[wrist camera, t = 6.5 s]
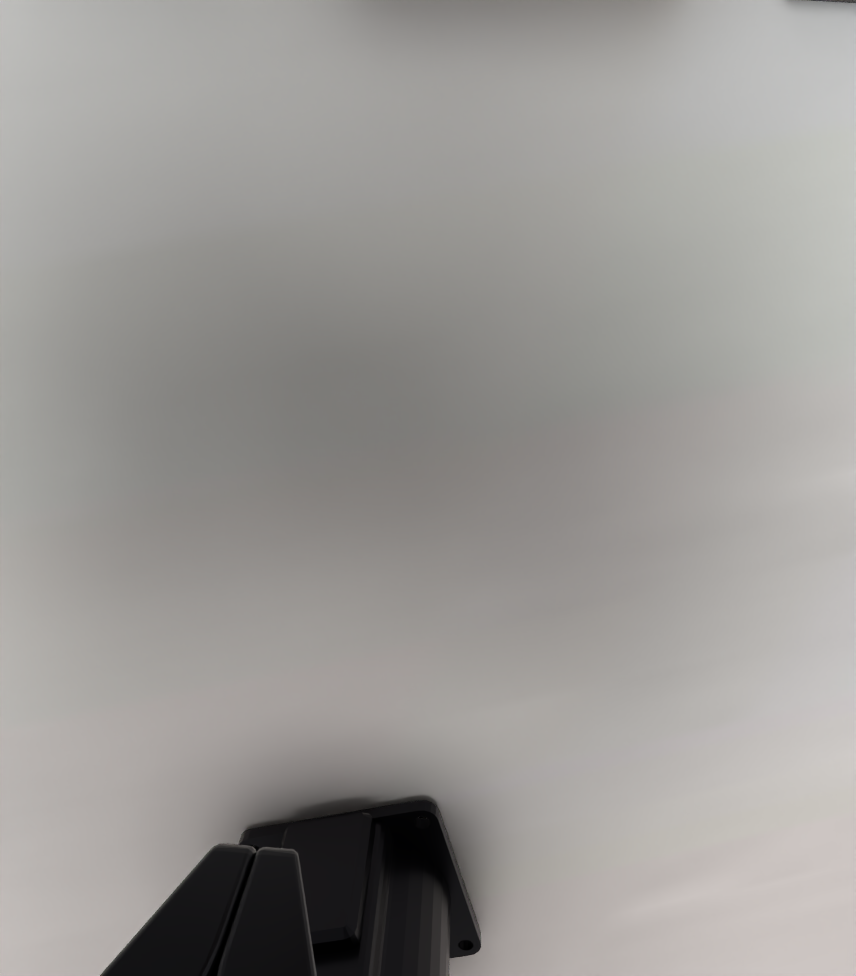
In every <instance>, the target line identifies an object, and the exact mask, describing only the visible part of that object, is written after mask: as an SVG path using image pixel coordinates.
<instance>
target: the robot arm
mask: <svg viewBox="0 0 856 976" xmlns="http://www.w3.org/2000/svg"><path fill="white" fill-rule="evenodd" d="M420 816H422V817H427V818H426V819H421V818H418V817H420ZM253 845H256V846H258V847H256V846H253ZM480 948H481V934H480V929H479V926H478V924H477V921H476V918H475V915H474V912H473V909H472V906H471V903H470V900H469V897H468V894H467V891H466V888H465V885H464V882H463V879H462V877H461V874H460V871H459V868H458V865H457V862H456V859H455V856H454V853H453V850H452V847H451V844H450V841H449V838H448V835H447V833H446V830H445V827H444V824H443V821H442V818H441V815H440V812H439V809H438V808H437V806H436V805H435V804H433V803H432V802H429V801H425V800H422V801H413V802H407V803H402V804H396V805H390V806H384V807H378V808H372V809H366V810H360V811H355V812H349V813H343V814H337V815H331V816H325V817H319V818H313V819H308V820H302V821H296V822H290V823H284V824H278V825H272V826H267V827H261V828H255V829H250V830H247V831H245V832H244V833H243V834H242V835H241V838H240V842H239V845H234V844H218V845H216V846H214V847H213V848H212V849H211V850H210V851H209V852H208V853H207V854H206V855H205V857H204V858H203V859H202V860H201V861H200V862H199V863H198V865H197V866H196V867H195V868H194V869H193V870H192V871H191V873H190V874H189V875H188V876H187V877H186V878H185V879H184V880H183V882H182V883H181V884H180V885H179V886H178V887H177V888H176V890H175V891H174V892H173V893H172V894H171V895H170V896H169V898H168V899H167V900H166V901H165V902H164V903H163V904H162V906H161V907H160V908H159V909H158V910H157V911H156V912H155V914H154V915H153V916H152V917H151V918H150V919H149V920H148V921H147V923H146V924H145V925H144V926H143V927H142V928H141V929H140V931H139V932H138V933H137V934H136V935H135V936H134V937H133V939H132V940H131V941H130V942H129V943H128V944H127V945H126V947H125V948H124V949H123V950H122V951H121V952H120V953H119V955H118V956H117V957H116V958H115V959H114V960H113V961H112V962H111V964H110V965H109V966H108V967H107V968H106V969H105V970H104V972H103V973H102V974H101V975H100V976H449V958H454V957H462V956H469V955H472V954H475V953H477V952H478V951H479V950H480Z"/></svg>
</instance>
